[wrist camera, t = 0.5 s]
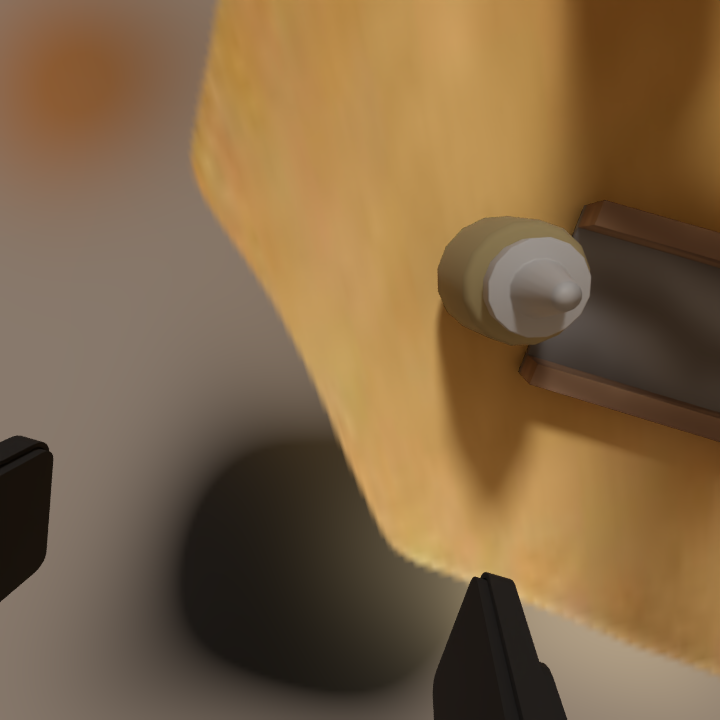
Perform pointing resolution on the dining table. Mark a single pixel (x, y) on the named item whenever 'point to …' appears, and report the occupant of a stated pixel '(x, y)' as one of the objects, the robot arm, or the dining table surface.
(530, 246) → the squeeze bottle
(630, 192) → the dining table surface
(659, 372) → the brown wooden tray
